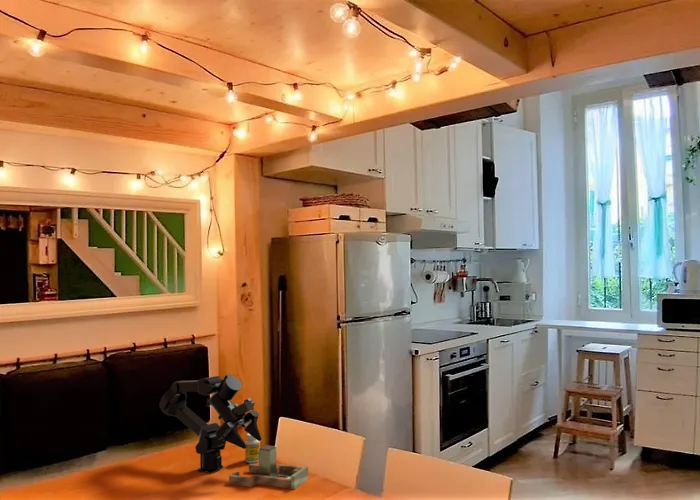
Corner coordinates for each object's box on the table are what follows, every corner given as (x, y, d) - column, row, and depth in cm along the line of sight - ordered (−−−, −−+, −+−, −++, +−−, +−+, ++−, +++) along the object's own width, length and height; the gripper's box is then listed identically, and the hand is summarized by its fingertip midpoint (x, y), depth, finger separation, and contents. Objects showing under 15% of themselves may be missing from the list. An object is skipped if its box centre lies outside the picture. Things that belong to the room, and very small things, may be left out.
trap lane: (229, 483, 188) (229, 471, 188) (254, 467, 202) (254, 456, 202) (290, 492, 179) (290, 479, 179) (312, 475, 194) (312, 463, 194)
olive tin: (258, 480, 190) (258, 448, 190) (265, 476, 194) (265, 444, 194) (270, 482, 189) (269, 449, 189) (276, 477, 192) (276, 446, 193)
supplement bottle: (256, 457, 214) (256, 430, 214) (262, 461, 209) (262, 434, 210) (242, 460, 211) (242, 433, 211) (248, 464, 206) (248, 436, 207)
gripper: (223, 398, 187) (252, 436, 183) (254, 386, 205) (282, 421, 200) (202, 420, 190) (231, 458, 185) (235, 407, 207) (262, 442, 203)
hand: (253, 444), depth 193 cm, fingers open, 9 cm apart
